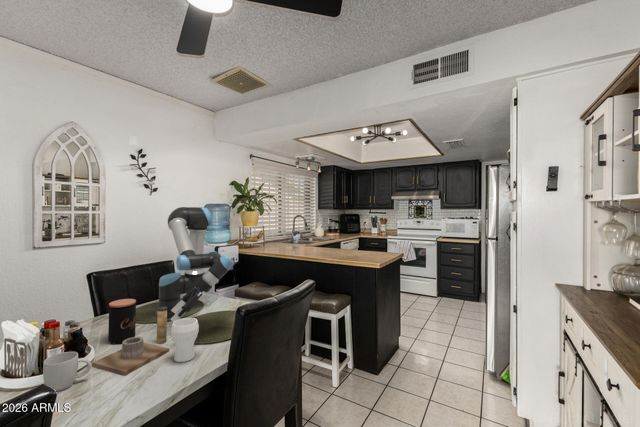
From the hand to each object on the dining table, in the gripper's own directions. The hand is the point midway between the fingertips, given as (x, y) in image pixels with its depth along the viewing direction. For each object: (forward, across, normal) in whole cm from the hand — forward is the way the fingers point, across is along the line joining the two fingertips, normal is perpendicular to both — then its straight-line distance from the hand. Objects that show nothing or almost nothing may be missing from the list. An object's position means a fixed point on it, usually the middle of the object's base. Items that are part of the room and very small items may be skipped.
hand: (172, 316), depth 136 cm
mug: (+31, -23, +15) cm, 42 cm away
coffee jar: (+24, +12, +7) cm, 27 cm away
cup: (+5, -19, -12) cm, 23 cm away
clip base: (+19, -11, +2) cm, 22 cm away
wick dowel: (+12, +1, -5) cm, 13 cm away
